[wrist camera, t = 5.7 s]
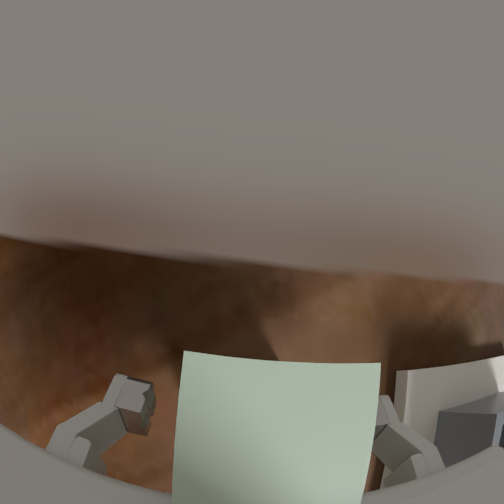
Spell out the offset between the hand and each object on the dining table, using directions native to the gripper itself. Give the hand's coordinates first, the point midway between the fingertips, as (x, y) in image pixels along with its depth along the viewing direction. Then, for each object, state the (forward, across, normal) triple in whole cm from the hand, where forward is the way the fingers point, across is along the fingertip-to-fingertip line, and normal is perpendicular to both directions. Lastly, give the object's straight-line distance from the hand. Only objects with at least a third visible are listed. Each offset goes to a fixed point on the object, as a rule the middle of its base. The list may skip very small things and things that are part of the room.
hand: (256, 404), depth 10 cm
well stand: (0, -19, +10) cm, 21 cm away
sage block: (+4, 0, +5) cm, 7 cm away
